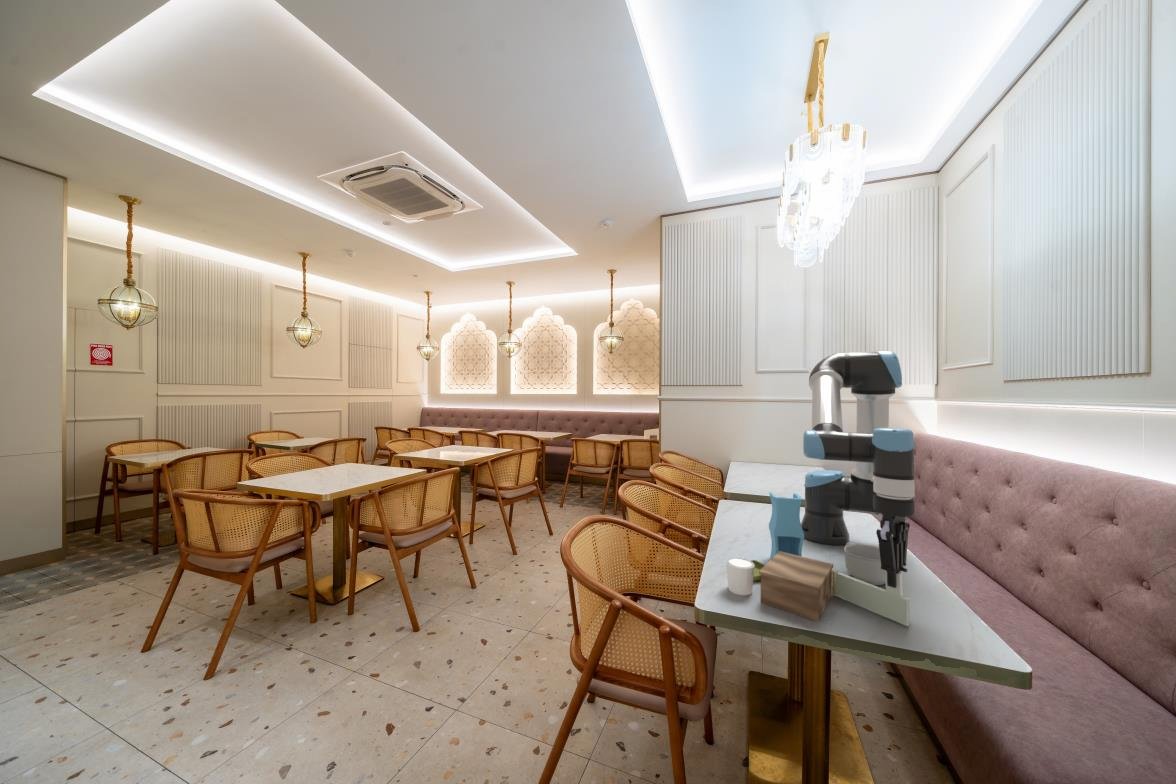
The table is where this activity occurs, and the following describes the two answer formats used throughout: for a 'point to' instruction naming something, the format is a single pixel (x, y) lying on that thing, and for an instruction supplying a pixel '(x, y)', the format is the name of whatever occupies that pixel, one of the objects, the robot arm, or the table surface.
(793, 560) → the wood grain block
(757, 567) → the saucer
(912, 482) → the robot arm
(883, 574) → the grey oval bowl
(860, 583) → the door
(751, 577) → the white short cylinder
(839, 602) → the table surface
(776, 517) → the blue tall holder
